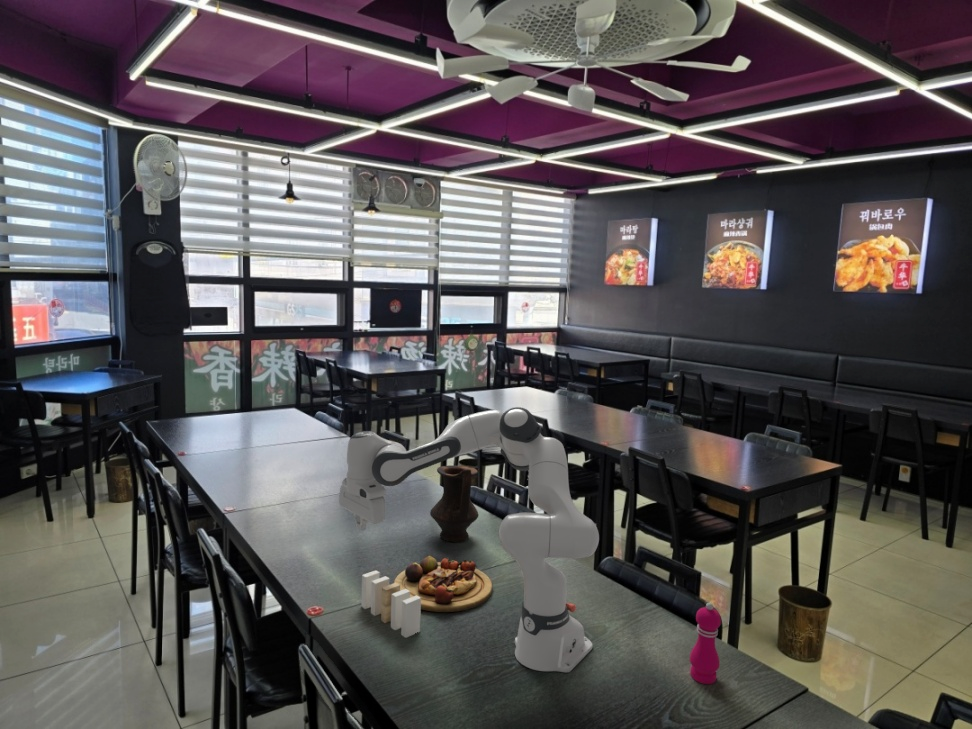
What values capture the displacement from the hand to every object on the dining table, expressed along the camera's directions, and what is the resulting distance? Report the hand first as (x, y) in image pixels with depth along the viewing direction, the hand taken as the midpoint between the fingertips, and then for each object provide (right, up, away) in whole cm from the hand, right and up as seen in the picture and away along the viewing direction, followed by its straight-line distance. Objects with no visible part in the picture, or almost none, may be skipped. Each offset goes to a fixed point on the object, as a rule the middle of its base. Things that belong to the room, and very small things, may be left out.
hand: (360, 528), depth 192 cm
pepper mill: (+94, -30, -30) cm, 103 cm away
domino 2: (+7, -23, -5) cm, 25 cm away
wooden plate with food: (+24, -23, +11) cm, 35 cm away
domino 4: (+14, -25, -12) cm, 31 cm away
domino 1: (+3, -23, -2) cm, 23 cm away
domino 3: (+10, -24, -9) cm, 27 cm away
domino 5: (+17, -25, -16) cm, 34 cm away
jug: (+26, -17, +51) cm, 60 cm away
